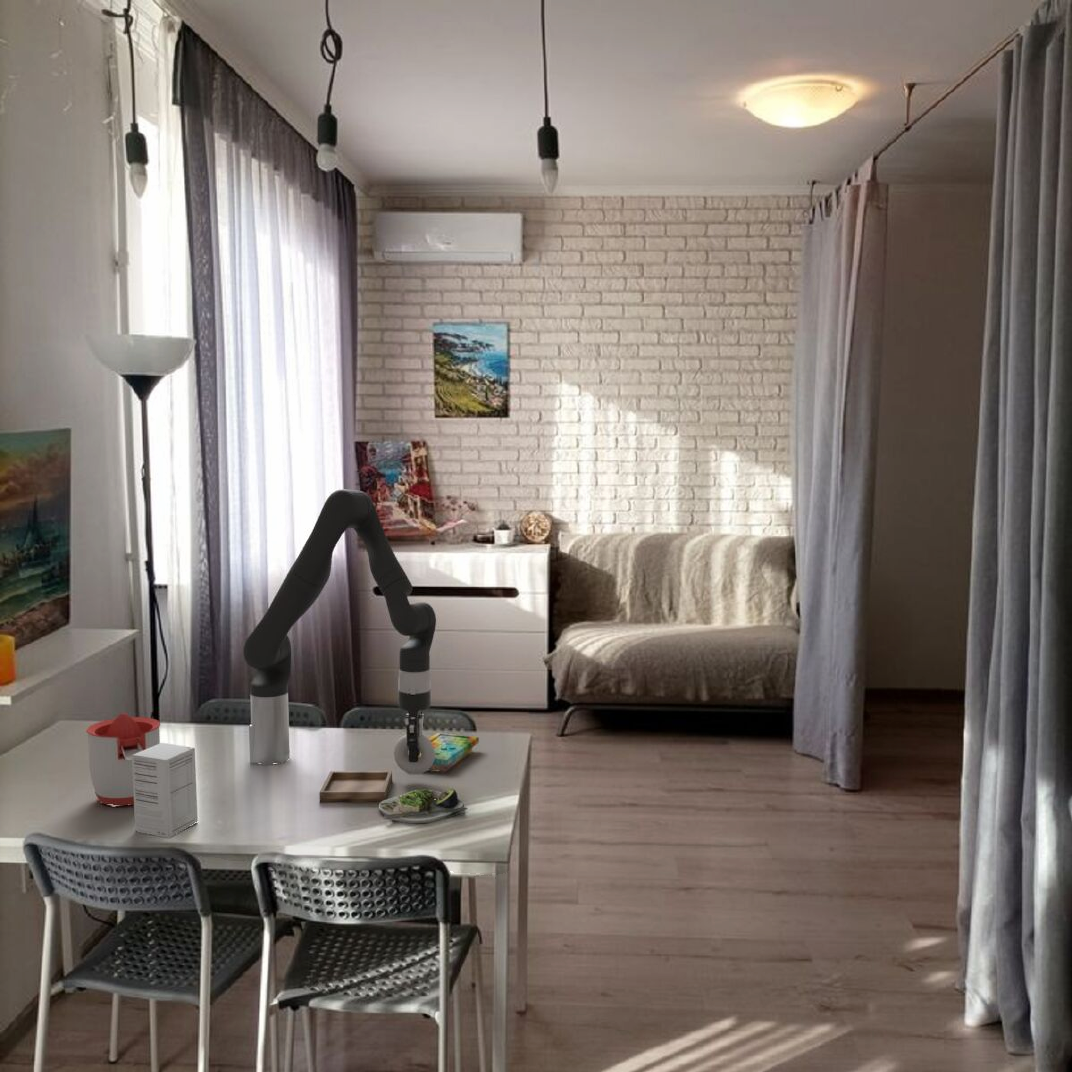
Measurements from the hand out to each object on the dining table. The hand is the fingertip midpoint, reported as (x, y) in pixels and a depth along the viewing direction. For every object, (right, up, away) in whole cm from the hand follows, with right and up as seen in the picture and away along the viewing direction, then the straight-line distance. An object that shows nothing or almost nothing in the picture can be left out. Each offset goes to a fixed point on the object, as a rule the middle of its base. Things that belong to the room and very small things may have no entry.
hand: (414, 758), depth 270 cm
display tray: (-13, -6, -6) cm, 16 cm away
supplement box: (-49, -9, -29) cm, 58 cm away
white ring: (0, -4, +1) cm, 4 cm away
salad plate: (+4, -8, -18) cm, 20 cm away
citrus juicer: (-64, -7, -12) cm, 65 cm away
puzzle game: (+5, -4, +18) cm, 19 cm away
